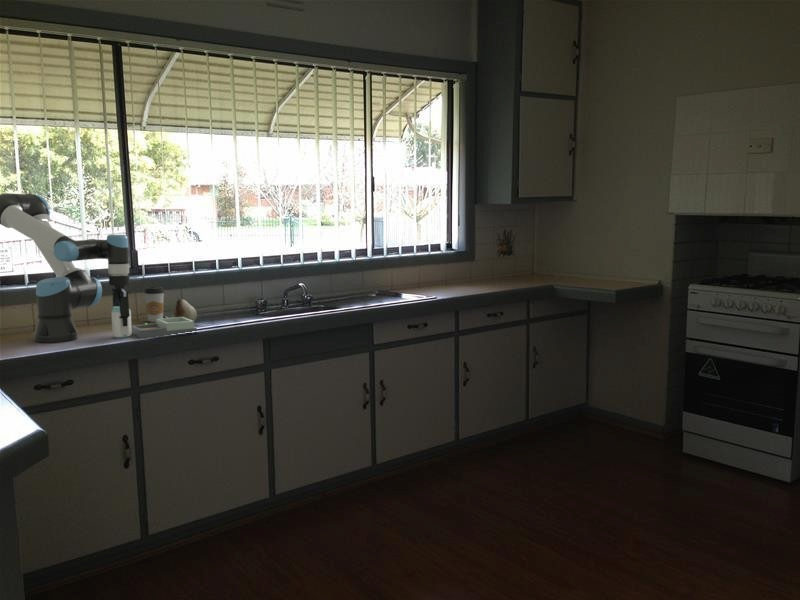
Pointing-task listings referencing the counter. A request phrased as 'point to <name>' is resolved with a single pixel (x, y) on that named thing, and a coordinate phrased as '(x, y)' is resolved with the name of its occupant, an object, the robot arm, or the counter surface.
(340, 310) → the counter surface
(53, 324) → the robot arm
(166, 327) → the grey tray
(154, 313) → the coffee cup
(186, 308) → the fruit
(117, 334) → the can
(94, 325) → the counter surface
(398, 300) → the counter surface
